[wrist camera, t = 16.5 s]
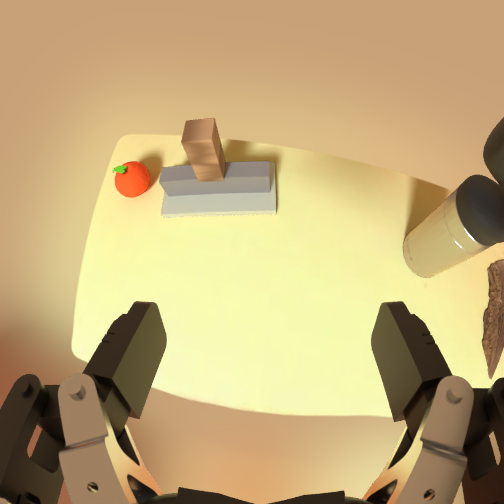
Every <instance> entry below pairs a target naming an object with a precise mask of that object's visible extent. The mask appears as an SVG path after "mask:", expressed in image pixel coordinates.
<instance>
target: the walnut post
mask: <svg viewBox="0 0 504 504" xmlns="http://www.w3.org/2000/svg"><path fill="white" fill-rule="evenodd" d="M181 143H182V145H183V147H184V150H185V152H186V154H187V156H188V159H189V161H190V163H191V166H192V168H193V170H194V172H195V175H196V177H197V179H198V181H199V182H210V181H224V171H225V157H224V153H223V149H222V145H221V141H220V138H219V134H218V130H217V126H216V122H215V118H208V119H198V120H190V121H186V123H185V128H184V132H183V137H182V141H181Z"/></svg>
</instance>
